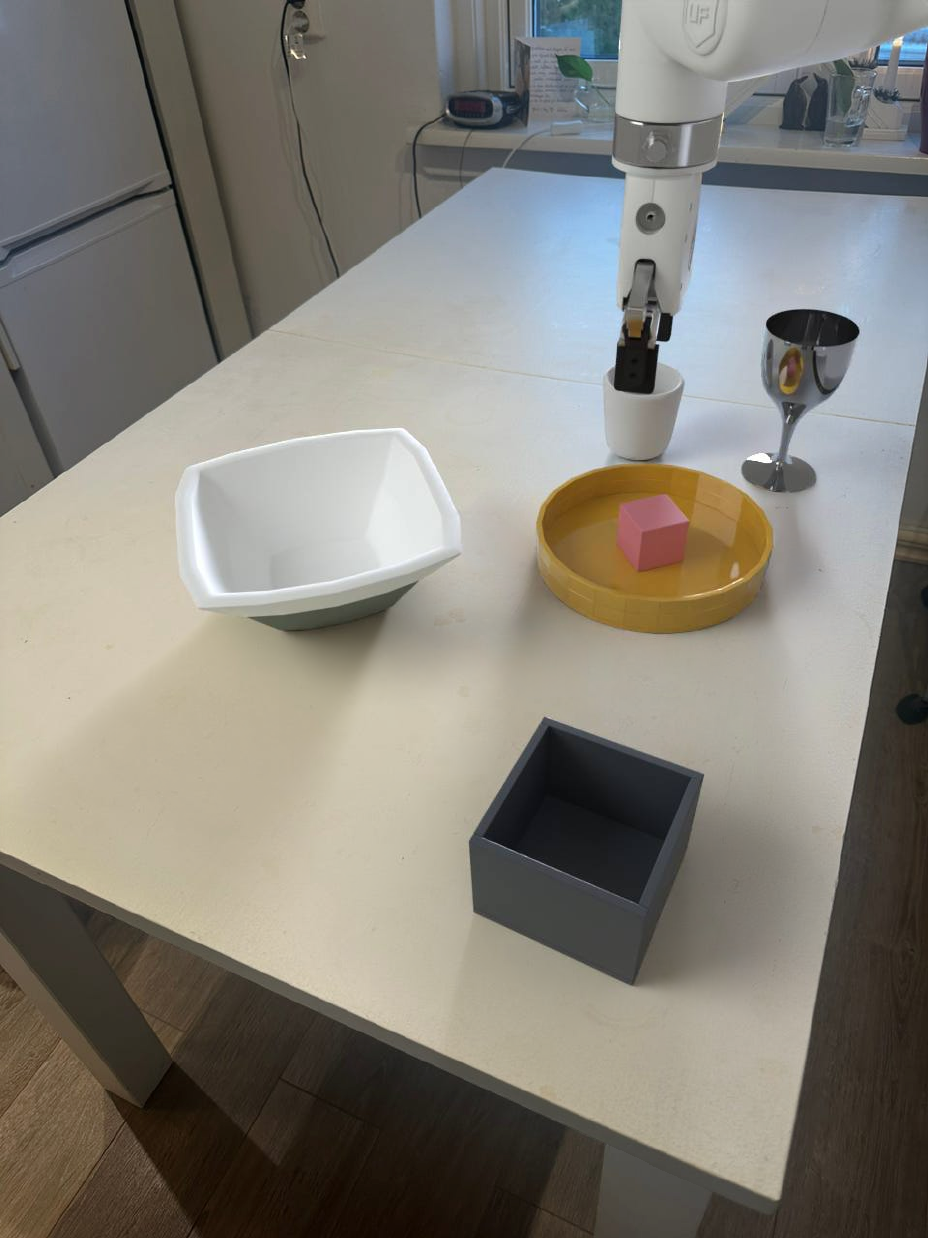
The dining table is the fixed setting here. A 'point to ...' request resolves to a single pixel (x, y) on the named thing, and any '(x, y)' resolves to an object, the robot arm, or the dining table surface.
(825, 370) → the wine glass
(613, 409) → the cup
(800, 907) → the dining table surface
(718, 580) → the yellow bowl
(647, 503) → the block
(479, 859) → the grey bin
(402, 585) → the bowl
